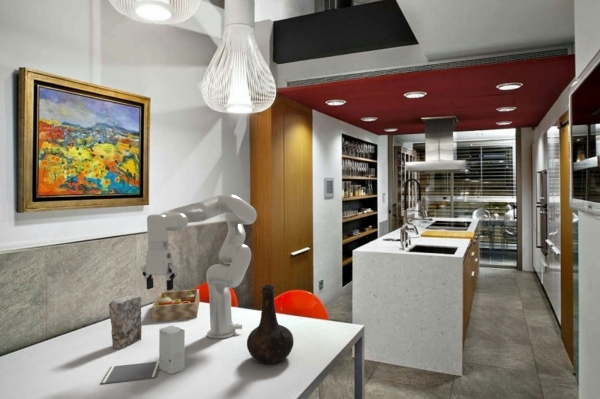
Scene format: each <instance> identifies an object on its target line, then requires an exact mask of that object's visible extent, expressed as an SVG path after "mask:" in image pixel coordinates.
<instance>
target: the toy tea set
mask: <svg viewBox="0 0 600 399" xmlns="http://www.w3.org/2000/svg"><path fill="white" fill-rule="evenodd" d="M186 297H187V301H184V302H181V300H180V299H179V300H171V299H170V298H168V297H167V296H166V295H165V296H164V298H162V299H161V300H160V301H158V304H156V306H161V305H173V304H185V303H195V298H196V296H195V295H193V294H192V293H191V292H190V293H189V295H187V296H186Z"/></svg>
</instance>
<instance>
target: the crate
mask: <svg viewBox="0 0 600 399" xmlns="http://www.w3.org/2000/svg"><path fill="white" fill-rule="evenodd" d="M190 292H191V293H192V294H193V295H195V296H196V298H195V303H185V304H173V305H161V306H156V304H158V301H160V300H161V299H162V298H164V296H165V295H166V296H167V297H168V298H170V299H171V300H179V299H180V300H181V302H184V301H187V297H186V296H187V295H189V293H190ZM199 307H200V289H199V288H198V289H187V290H186V289H185V290H174V291H172V290H169V291H161V292H159V294H158V295H157V297H156V299H155V301H154V303H153V304H152V306H151V313H152V314H151V316H152V318H151V319H152V322H154V323H155V322H164V321H176V320H185V318H187V319H195V318H194V317H197V318H198V315H197V314H198V313H199V309H200V308H199ZM175 319H176V320H175Z"/></svg>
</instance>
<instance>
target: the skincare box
mask: <svg viewBox="0 0 600 399" xmlns="http://www.w3.org/2000/svg"><path fill="white" fill-rule="evenodd" d="M158 335H159V340H158V341H159V342H158V343H159V348H158V349H159V350H158V351H159V352H158V353H159V356H158V358H159V359H158V361H159V370H162V371H164V372H165V373H168V374H170V375H173V374H176V373H178V372H181V371H184V370H185V360H186V359H185V356H186V355H185V342H186V341H185V329H182V328H180V327H178V326H176V325H168V326H166V327H165V326H164V327H161V328H159V334H158Z"/></svg>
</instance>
